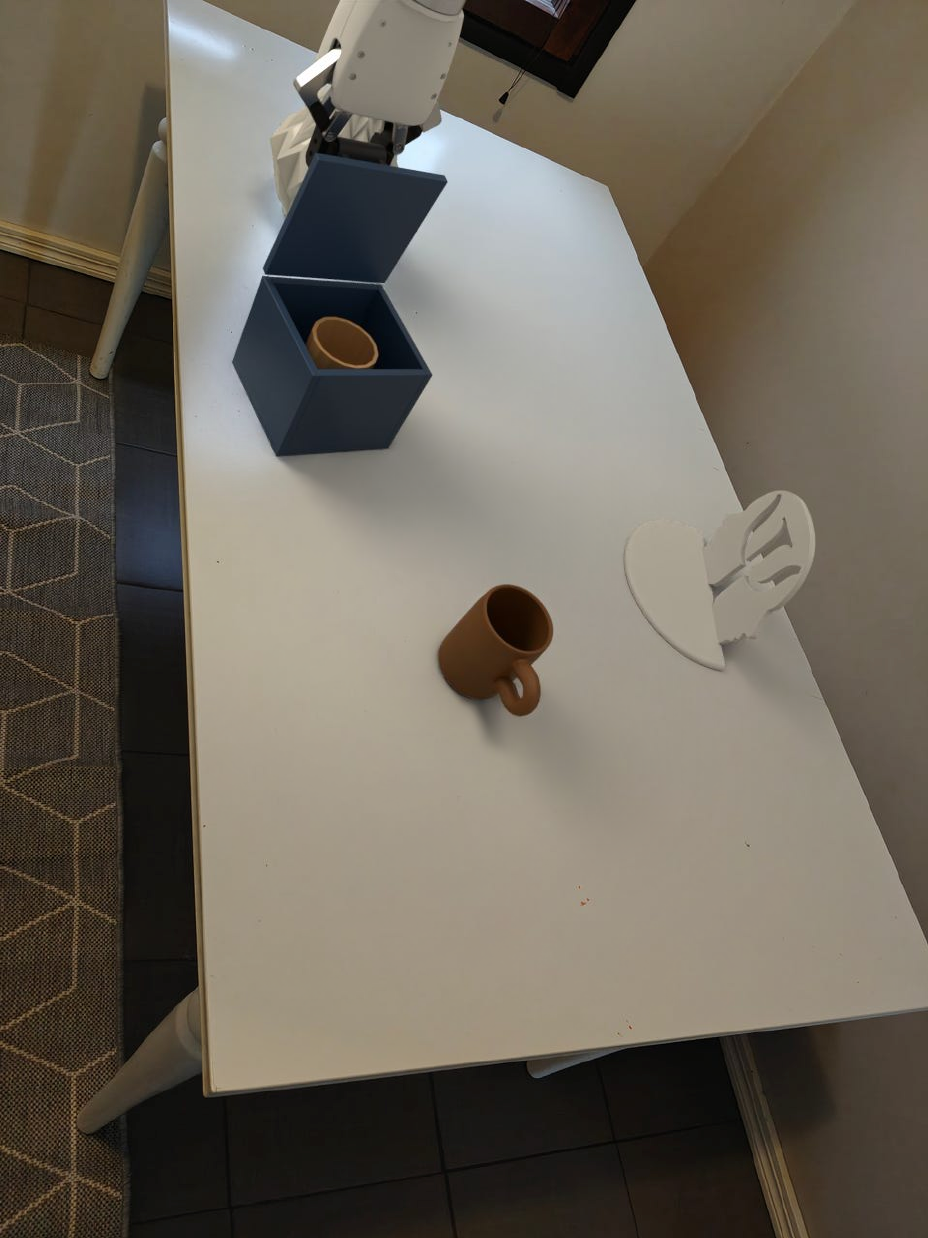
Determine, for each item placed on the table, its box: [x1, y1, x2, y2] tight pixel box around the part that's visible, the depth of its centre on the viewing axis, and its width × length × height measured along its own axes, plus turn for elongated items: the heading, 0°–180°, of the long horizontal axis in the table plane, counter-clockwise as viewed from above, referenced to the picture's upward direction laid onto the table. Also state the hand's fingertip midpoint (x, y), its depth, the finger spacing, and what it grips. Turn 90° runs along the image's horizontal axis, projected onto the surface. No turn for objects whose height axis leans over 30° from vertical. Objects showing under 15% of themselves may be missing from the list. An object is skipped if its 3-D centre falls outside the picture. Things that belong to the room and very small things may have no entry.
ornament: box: [623, 490, 816, 672], centre depth 99 cm, size 22×13×17 cm, turn 178°
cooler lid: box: [262, 137, 448, 284], centre depth 80 cm, size 13×14×5 cm
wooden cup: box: [305, 317, 378, 370], centre depth 87 cm, size 7×7×9 cm
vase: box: [269, 84, 399, 217], centre depth 102 cm, size 16×16×18 cm
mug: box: [438, 583, 554, 717], centre depth 79 cm, size 12×8×9 cm, turn 14°
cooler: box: [231, 275, 433, 457], centre depth 87 cm, size 13×14×11 cm
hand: (342, 175), depth 80 cm, fingers closed on cooler lid, 5 cm apart
